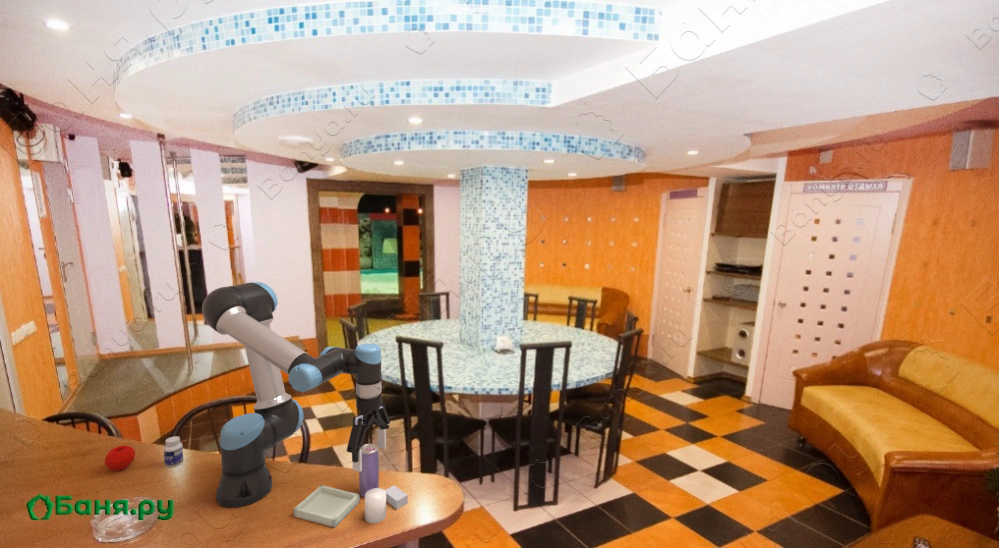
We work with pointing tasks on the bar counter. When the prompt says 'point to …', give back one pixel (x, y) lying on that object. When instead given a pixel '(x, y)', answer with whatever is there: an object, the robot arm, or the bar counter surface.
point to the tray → (327, 506)
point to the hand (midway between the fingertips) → (370, 458)
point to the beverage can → (369, 468)
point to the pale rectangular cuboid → (396, 497)
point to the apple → (120, 458)
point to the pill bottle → (173, 452)
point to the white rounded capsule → (375, 505)
